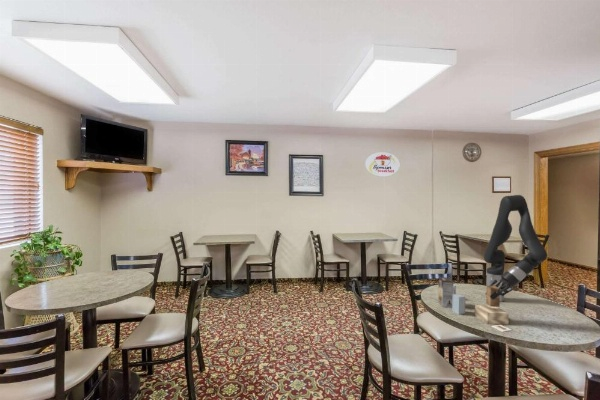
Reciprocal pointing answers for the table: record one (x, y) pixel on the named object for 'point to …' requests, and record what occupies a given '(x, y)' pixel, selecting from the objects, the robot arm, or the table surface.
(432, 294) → the table surface
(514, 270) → the robot arm
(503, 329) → the tile
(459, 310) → the slate block
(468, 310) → the table surface
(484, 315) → the birch block
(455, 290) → the medicine box
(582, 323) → the table surface
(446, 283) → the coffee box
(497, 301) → the walnut block
